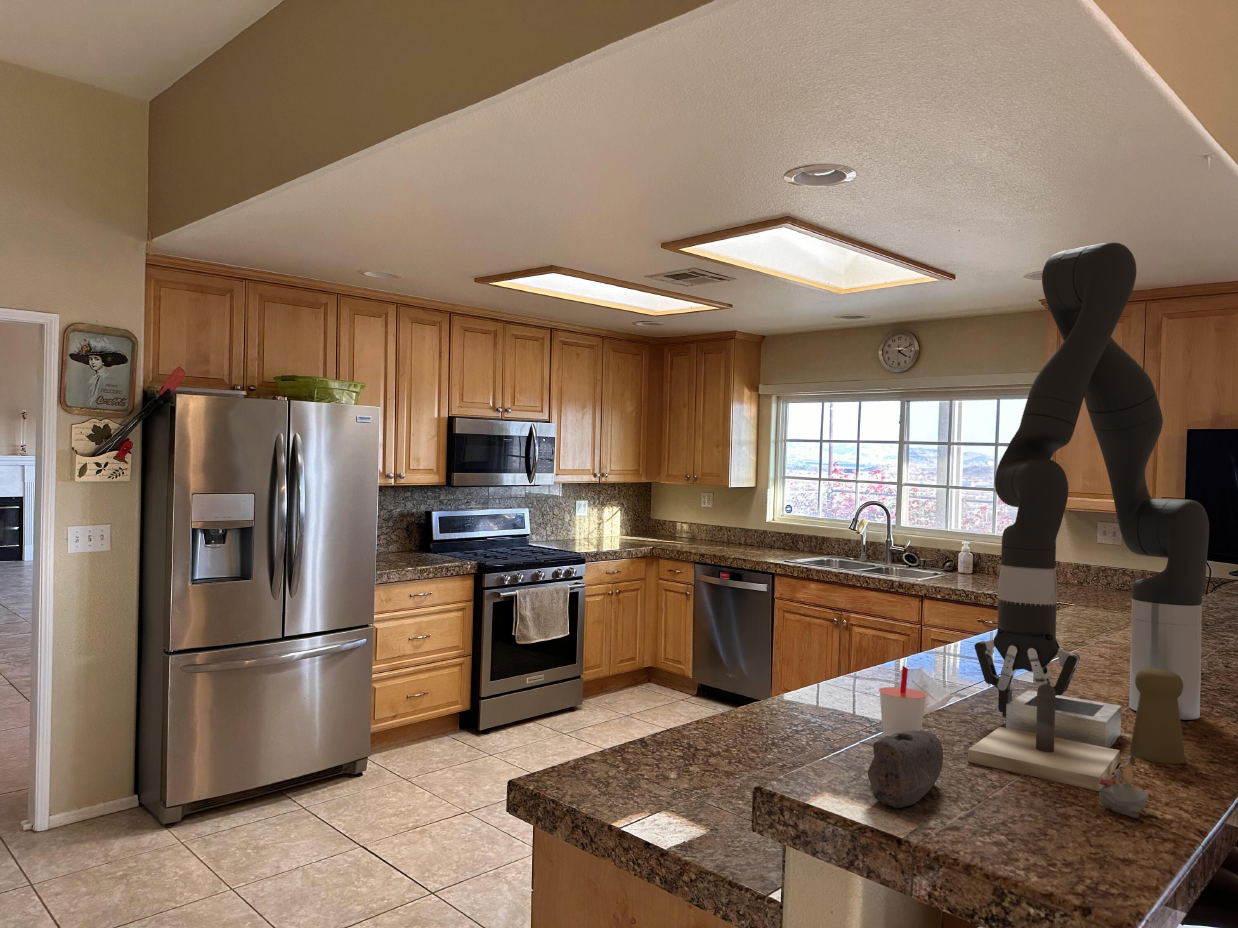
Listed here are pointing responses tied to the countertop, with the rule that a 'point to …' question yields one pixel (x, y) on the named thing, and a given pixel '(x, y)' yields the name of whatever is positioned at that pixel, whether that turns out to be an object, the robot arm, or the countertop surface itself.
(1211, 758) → the countertop surface
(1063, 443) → the robot arm
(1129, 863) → the countertop surface
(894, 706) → the cup
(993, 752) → the block
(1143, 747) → the cork
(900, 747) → the perforated stone tool
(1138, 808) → the figurine
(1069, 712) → the grey hollow block
